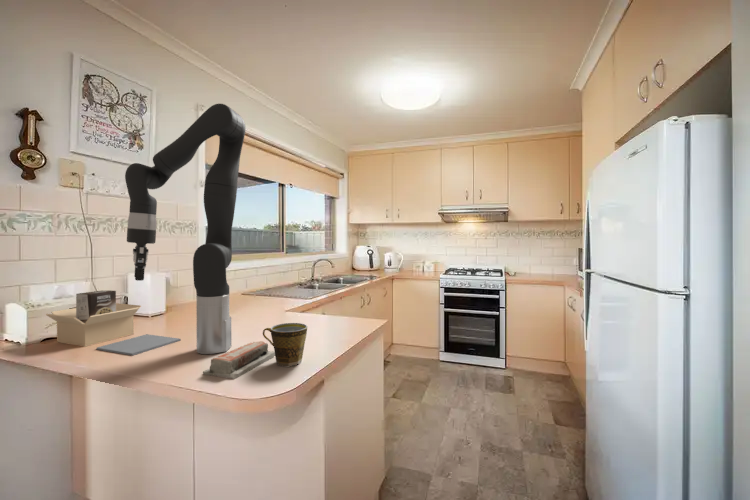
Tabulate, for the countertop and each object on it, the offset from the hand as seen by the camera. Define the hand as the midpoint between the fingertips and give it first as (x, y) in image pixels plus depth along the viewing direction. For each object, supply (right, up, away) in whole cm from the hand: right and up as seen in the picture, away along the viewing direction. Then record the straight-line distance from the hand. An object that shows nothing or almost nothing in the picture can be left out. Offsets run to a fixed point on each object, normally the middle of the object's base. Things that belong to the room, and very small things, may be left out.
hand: (138, 278), depth 105 cm
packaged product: (+39, -23, -14) cm, 47 cm away
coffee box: (-22, -22, +10) cm, 32 cm away
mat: (-1, -22, +2) cm, 22 cm away
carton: (-22, -21, +10) cm, 32 cm away
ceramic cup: (+50, -23, -12) cm, 56 cm away
